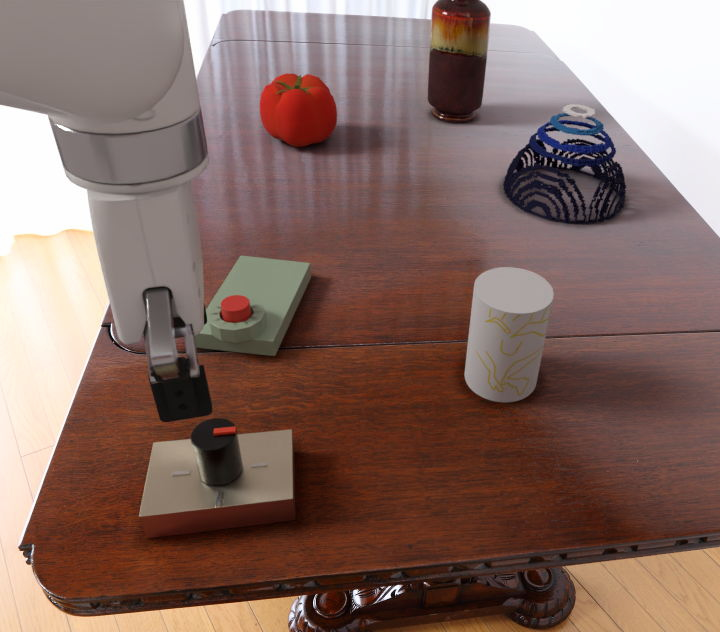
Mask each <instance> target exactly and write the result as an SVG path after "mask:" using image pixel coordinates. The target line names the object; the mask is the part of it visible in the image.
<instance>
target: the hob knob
mask: <svg viewBox="0 0 720 632" xmlns="http://www.w3.org/2000/svg"><path fill="white" fill-rule="evenodd" d="M237 434H238V430H237V426H236V425H235V424H234V422H232V421H231V420H230V419H227V418H222V417H214V418H208V419H206V420H203V421H202V422H200V423H198V424H197V425H196V426H194V428H193V429H192V431H191V433H190V439H191V443H192V448H193V452H194V456H195V460H196V465H197V469H198V473H199V476H200V478H201V480H202V481H204V482H205V483H207V484H210V485H224V484H227V483H229V482H231V481H233V480H234V479H236V478H237V477H238V476H239V474H240V473H241V471H242V467H243V463H242V458H241V452H240V446H239V441H238V435H237Z"/></svg>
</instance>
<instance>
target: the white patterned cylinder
mask: <svg viewBox="0 0 720 632" xmlns="http://www.w3.org/2000/svg"><path fill="white" fill-rule="evenodd" d="M554 294H555V293H554V289H553V286H552V285H551V283H549V281H548V280H546V279H545V278H544V277H543V276H541V275H540V274H538V273H535V272H534V271H531V270H528V269H525V268H520V267H511V266H502V267H495V268H491V269H488V270H485V271H483V272H482V273H481V274H479V275H478V276H477V277H476V279H475V281H474V283H473V291H472V299H471V300H472V301H471V310H470V320H469V329H468V337H467V345H466V355H465V363H464V365H465V366H464V381H465V383H466V385H467V386H468V388H469V389H470V390H471V391H472V392H473V393H474V394H476V395H477V396H479V397H481V398H483V399H485V400H488V401H491V402H496V403H515V402H518V401H521V400H524V399H526V398H528V397H529V396H530V395H531V394H532V393H533V392H534V390H535V389H536V386H537V382H538V377H539V373H540V369H541V368H540V367H541V363H542V358H543V357H542V356H543V352H544V349H545V347H544V346H545V342H546V336H547V333H548V332H547V331H548V327H549V322H550V316H551V312H552V306H553V302H554V296H555V295H554Z"/></svg>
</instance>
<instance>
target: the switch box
mask: <svg viewBox="0 0 720 632" xmlns="http://www.w3.org/2000/svg"><path fill="white" fill-rule="evenodd" d="M311 279H312V265H311V262H304V261H295V260H286V259H277V258H267V257H257V256H249V255H240V256H239V257H238V258H237V260H236V262H235V264H234V265H233V267H232V269H231V270H230V272H229V273H228V275H227V276H226V278H225V279H224V280H223V282H222V284H221V286H220V287H219V289H218V290H217V292H216V293H215V294H214V296H213V298H212V299H211V301H210V303H209V304H208V306H207V307H206V308H205V309H206V314H207V323H206V324H205V325H204V328H203V329H202V330H201V332H200V333H199V334H197V335H196V336H195V341H196V348H197V349H203V350H204V349H205V350H214V351H223V352H232V353H239V354H240V353H242V354H250V355H259V356H260V355H261V356H269V357H275V356H276V355H277V353H278V351H279V349H280V347H281V344H282V342H283V339H284V337H285V335H286V333H287V331H288V329H289V327H290V324H291V322H292V320H293V318H294V316H295V313H296V312H297V309H298V308H299V305H300V303H301V300H302V299H303V296H304V294H305V292H306V290H307V287H308V285H309V284H310V280H311ZM232 295H242V296H245V297H247V298H248V299H249V301H250V309H251V316H250V318H249V319H248V320H246V321H244V322H239V323H229V322H226V321H225V320H224V319H223V317H222V311H221V302H222V300H223V299H225V298H226V297H229V296H232Z"/></svg>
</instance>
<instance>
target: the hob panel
mask: <svg viewBox="0 0 720 632" xmlns="http://www.w3.org/2000/svg"><path fill="white" fill-rule="evenodd" d="M237 435H238V441H239V446H240V452H241V458H242V463H243V467H242V471H241V473H240V474H239V476H238V477H237V478H236V479H234V480H233V481H231V482H229V483H227V484H224V485H210V484H207V483H205V482H204V481H202V480H201V478H200V476H199V473H198V469H197V465H196V460H195V456H194V452H193V448H192V443H191V438H186V439H175V440H165V441H163V440H162V441H156V442H155V441H154V442H152V448H151V453H150V458H149V462H148V467H147V472H146V477H145V483H144V486H143V487H144V488H143V493H142V498H141V503H140V508H139V513H138V519H139V521H140V525H141V528H142V531H143V534H144V536H145V539H146V540H147V539H154V538H163V537H164V538H165V537H170V536H171V537H172V536H180V535H187V534H196V533H202V532H212V531H219V530H227V529H228V530H229V529H236V528H243V527H252V526H258V525H259V526H260V525H268V524H277V523H283V522H285V523H286V522H290V521H291V522H292V521H296V469H295V467H296V465H295V461H296V460H295V444H294V434H293V429H292V428H291V429H290V428H289V429H280V430H279V429H278V430H270V431H259V432H248V433H239V434H238V433H237Z"/></svg>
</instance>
